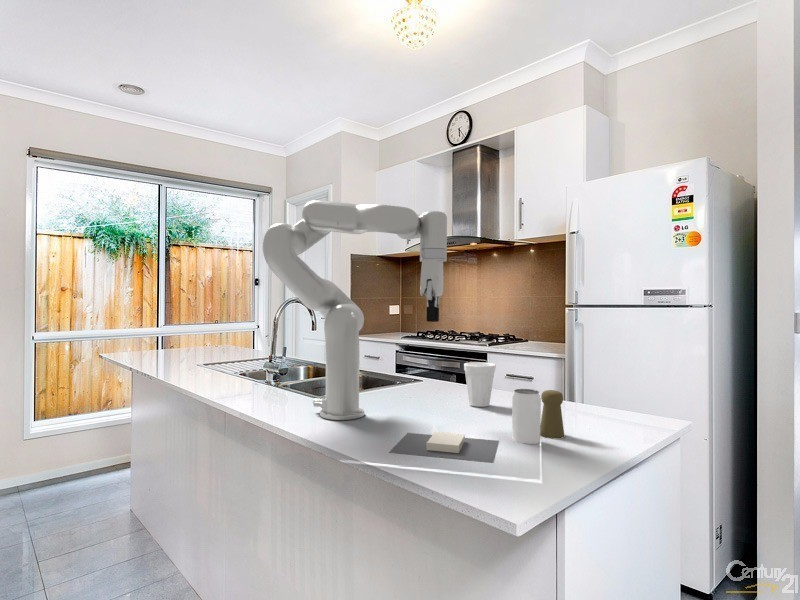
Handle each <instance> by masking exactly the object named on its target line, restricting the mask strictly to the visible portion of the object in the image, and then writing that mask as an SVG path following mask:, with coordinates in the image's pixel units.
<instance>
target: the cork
mask: <svg viewBox="0 0 800 600" xmlns="http://www.w3.org/2000/svg"><path fill="white" fill-rule="evenodd" d="M540 398H541V403H542V404H543V406H542V410H541V412H542V413H541V424H540V437H543V438H547V439H553V438H558V439H563V438H562V437H564V436H565V430H564V421H563V413H562V406H561V405H562V404H563V401H564V395H563V393H562V392H561V391H560V390H559V391H558V390H554V389H553V390H552V389H548V390H544V391H542V393H541V396H540ZM564 438H565V437H564Z"/></svg>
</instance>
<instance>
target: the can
mask: <svg viewBox="0 0 800 600" xmlns="http://www.w3.org/2000/svg"><path fill="white" fill-rule="evenodd" d="M539 393H540V391H539V390H536V389H531V388H517V389H514V392H513V394H512V400H511V401H512V402H511V404H512V405H511V407H512V408H511V416H512V417H511V439H512V441H514V442H517V443H520V444H526V445H528V444H531V445H533V444H538V443H539V444H540V443H541V436H540V425H541V418H542V413H541V412H542V410H541V407H542V404H541V403H542V399H541V396H540V395H539Z"/></svg>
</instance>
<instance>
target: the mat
mask: <svg viewBox="0 0 800 600" xmlns="http://www.w3.org/2000/svg"><path fill="white" fill-rule="evenodd" d="M432 435H433V434H424V433H414V432H407V433H406V434H405V435H404V436H403V437H402V438H401V439H400V440H399V441H398V442H397V443H396V444H395V445H394V446H393V447H392V448H391V449H390V451H388V453H389V454H396V455H398V454H399V455H409V456H419V457H426V458H427V457H428V458H438V459H439V458H440V459H447V460H449V459H450V460H459V461H460V460H461V461H469V462H477V463H491V464H493V463H494V461H495V458H496V453H497V450H498V446H499V443H500V440H497V439H482V438H475V437H474V438H471V437H465V442H464V444H463V446H462V448H461V450H460V452H459V453H451V452H440V451H430V450H427V442H428V440H429V439H430V438H431V436H432Z"/></svg>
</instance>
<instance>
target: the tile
mask: <svg viewBox="0 0 800 600" xmlns="http://www.w3.org/2000/svg"><path fill="white" fill-rule="evenodd" d="M431 435H432V436H431V438H430V439H429V440H428V442H427V450H430V451H440V452H451V453H459V452H460V450H461V448H462V446H463V444H464V442H465V438H466V434H465V433H456V432H455V433H453V432H452V433H451V432H440V431H434V432H433V434H431Z"/></svg>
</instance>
